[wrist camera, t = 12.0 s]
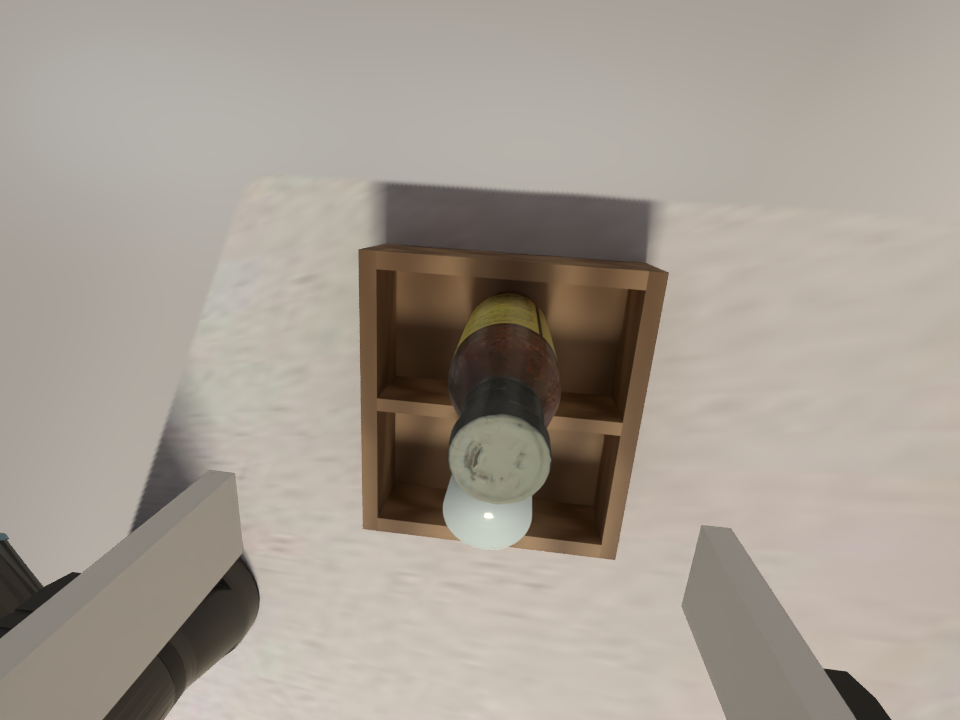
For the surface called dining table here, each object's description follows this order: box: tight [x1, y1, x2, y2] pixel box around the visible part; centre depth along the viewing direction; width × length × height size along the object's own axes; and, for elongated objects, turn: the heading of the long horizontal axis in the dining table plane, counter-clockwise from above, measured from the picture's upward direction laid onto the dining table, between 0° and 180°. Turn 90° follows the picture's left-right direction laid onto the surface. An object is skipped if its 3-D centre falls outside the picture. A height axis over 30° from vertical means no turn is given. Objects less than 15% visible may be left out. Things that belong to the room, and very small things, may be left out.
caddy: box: [359, 244, 669, 560], centre depth 36 cm, size 20×22×6 cm
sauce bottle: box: [448, 292, 561, 504], centre depth 27 cm, size 6×6×20 cm
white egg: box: [443, 475, 532, 550], centre depth 35 cm, size 6×6×9 cm
